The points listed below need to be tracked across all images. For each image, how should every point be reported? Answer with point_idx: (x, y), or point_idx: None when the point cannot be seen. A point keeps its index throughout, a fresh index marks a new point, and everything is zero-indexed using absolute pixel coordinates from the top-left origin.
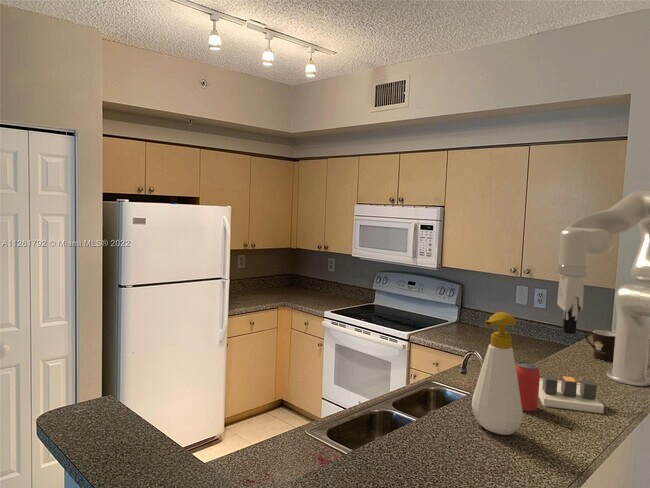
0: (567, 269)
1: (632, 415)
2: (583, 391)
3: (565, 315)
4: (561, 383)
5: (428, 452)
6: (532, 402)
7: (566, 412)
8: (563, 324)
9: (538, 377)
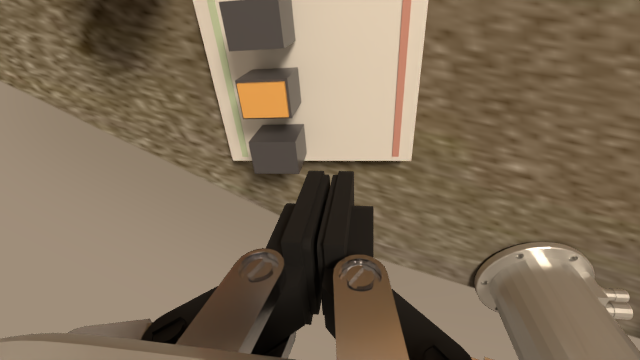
0: None
1: (264, 207)
2: (262, 131)
3: (336, 292)
4: (291, 72)
5: None
6: None
7: (192, 59)
8: (332, 203)
9: None
